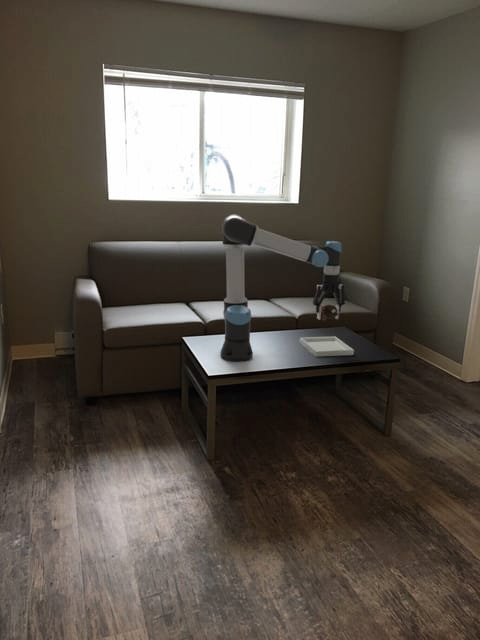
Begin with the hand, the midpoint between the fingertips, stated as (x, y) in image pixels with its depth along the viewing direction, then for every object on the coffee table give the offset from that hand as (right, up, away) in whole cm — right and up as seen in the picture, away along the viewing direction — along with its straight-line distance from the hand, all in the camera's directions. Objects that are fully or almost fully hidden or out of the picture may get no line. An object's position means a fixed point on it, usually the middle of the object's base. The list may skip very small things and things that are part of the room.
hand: (327, 318), depth 254 cm
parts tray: (0, -15, +5) cm, 16 cm away
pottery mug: (-1, 0, +1) cm, 1 cm away
